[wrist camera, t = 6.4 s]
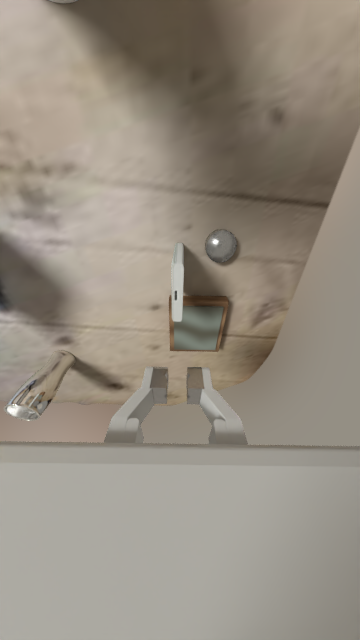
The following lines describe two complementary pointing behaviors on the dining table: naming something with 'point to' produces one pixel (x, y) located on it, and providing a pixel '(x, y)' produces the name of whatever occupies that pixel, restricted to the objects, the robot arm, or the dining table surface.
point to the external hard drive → (177, 282)
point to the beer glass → (40, 388)
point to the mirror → (198, 323)
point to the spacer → (220, 245)
